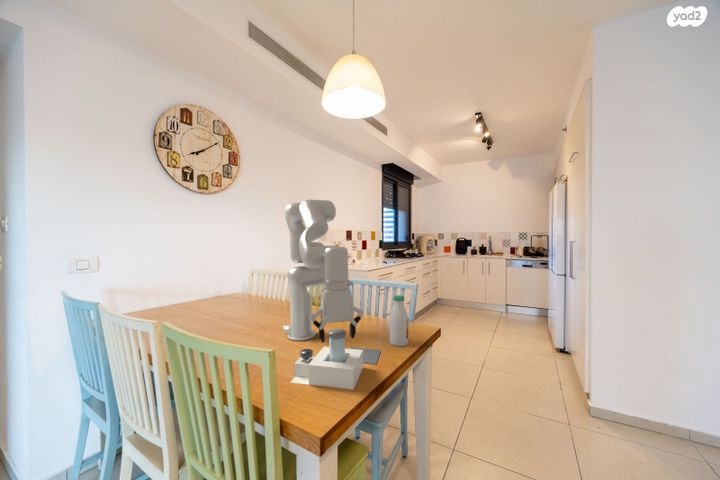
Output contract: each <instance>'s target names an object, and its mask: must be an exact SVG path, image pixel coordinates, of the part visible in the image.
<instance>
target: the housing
mask: <svg viewBox="0 0 720 480" xmlns="http://www.w3.org/2000/svg"><path fill="white" fill-rule="evenodd" d="M293 366H294V367H293V371H294V373H293V374H294V377H293V378H292V379H291V381H290V382H289V383H291V384H292V383H293V384H299V385H310V386H318V387H326V388H335V389H345V390H352V391H353V390H354V389H355V388H356V387H355V386H356V385H357V383H358V381H359V378H360V375H361V374H362V371H363V369H364V363H363V350H357V349H350V348H345V363H341V362H330V361H329V346H322V348H321V349H320V351H319V352H318V353H317V354H315V356H312V357H311V358H310V362H309V363H307V362H304V358H301V357H299V358H298V359H297V360H296V361H295V362H294V364H293Z"/></svg>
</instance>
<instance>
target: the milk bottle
mask: <svg viewBox="0 0 720 480" xmlns="http://www.w3.org/2000/svg"><path fill="white" fill-rule="evenodd" d="M392 302H393V305H392V309H391V310H390V313H389V343H390V345H391V346H393V347H405V346H407V345H408V344H409V315H408V312H407V309H406V307H405V296H403V295H398V294H397V295H393V297H392Z"/></svg>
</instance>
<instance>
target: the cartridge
mask: <svg viewBox="0 0 720 480" xmlns="http://www.w3.org/2000/svg"><path fill="white" fill-rule="evenodd" d="M327 333H328V334H327V337H328V339H329V341H328V343H329V344H328V345H329V346H328V347H329V361H330V362H341V363H345V349H346V335H347V334H346V333H347V331H346V329H343V328H333V329H330V330H328V332H327Z"/></svg>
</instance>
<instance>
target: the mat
mask: <svg viewBox="0 0 720 480" xmlns="http://www.w3.org/2000/svg"><path fill="white" fill-rule="evenodd" d="M349 349H357V350H363V365H364V364H366V365H374V366H375V365H377V363H378V360H379V357H380V354H381V353H382V349H377V348H375V349H373V348H365V347H364V348H362V347H361V348H360V347H350V348H349Z"/></svg>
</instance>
